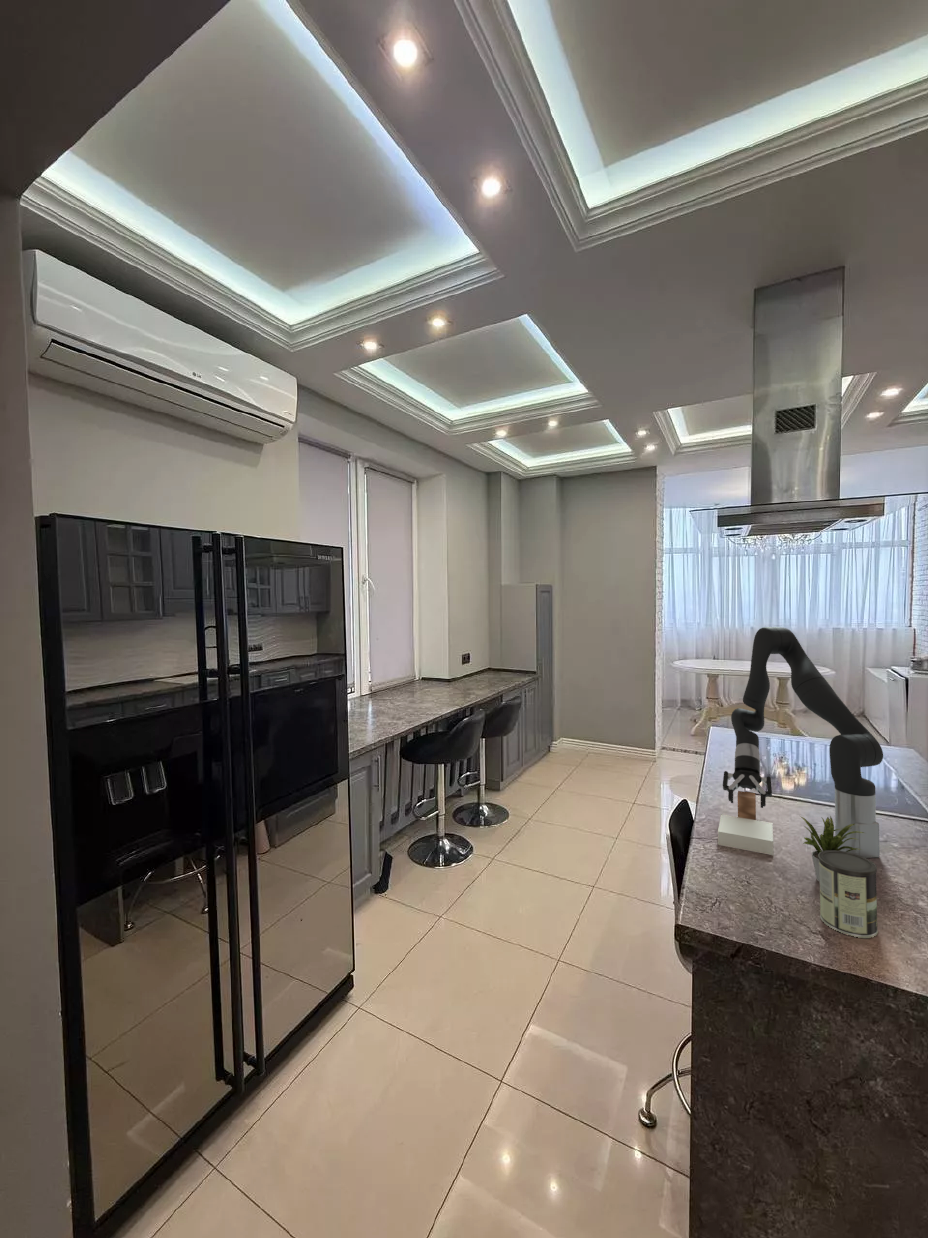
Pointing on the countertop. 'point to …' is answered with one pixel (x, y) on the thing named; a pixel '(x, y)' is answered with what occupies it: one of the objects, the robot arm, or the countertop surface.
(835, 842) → the house plant
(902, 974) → the countertop surface
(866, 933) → the coffee can
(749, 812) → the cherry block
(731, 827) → the cream base
